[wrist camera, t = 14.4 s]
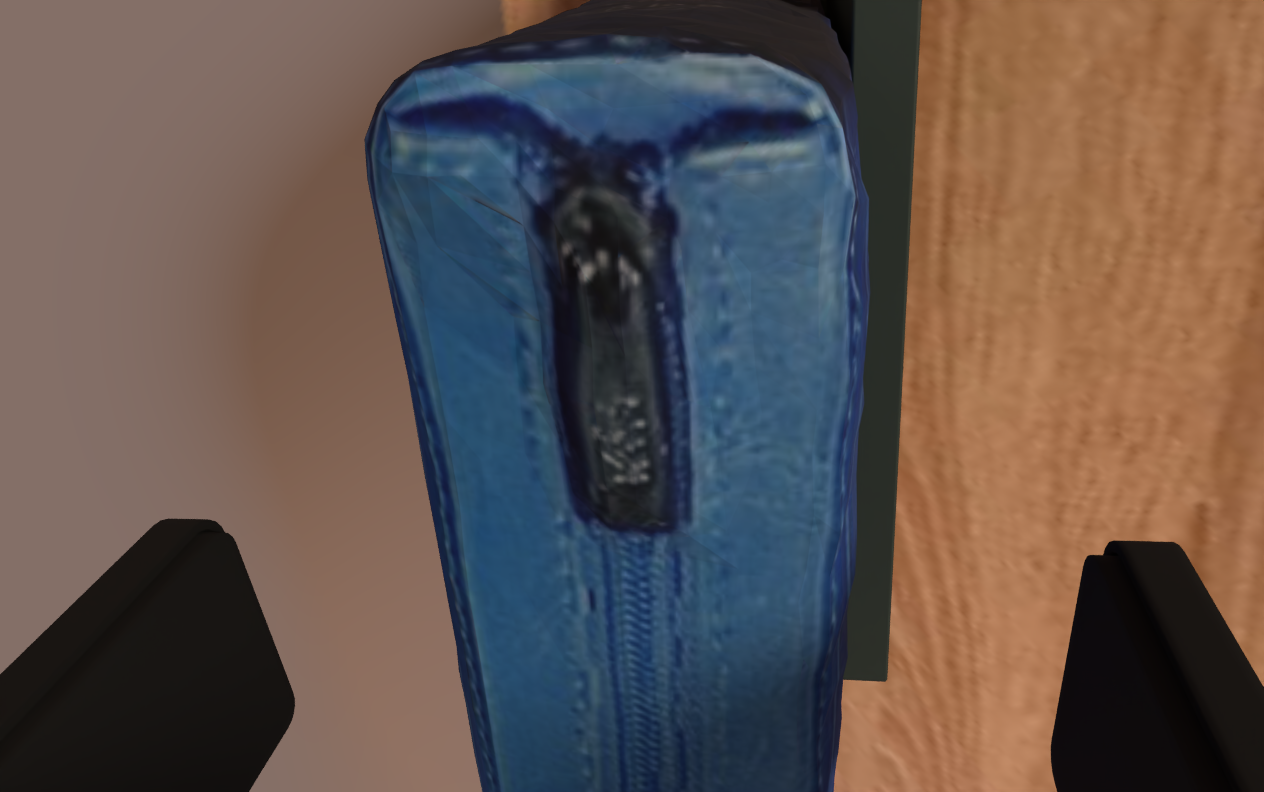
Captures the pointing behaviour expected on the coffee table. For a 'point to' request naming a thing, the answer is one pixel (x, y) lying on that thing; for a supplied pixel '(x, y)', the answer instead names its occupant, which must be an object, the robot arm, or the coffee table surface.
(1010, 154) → the coffee table surface
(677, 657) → the blue zipper case
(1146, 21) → the coffee table surface
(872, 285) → the green l-shaped stand
